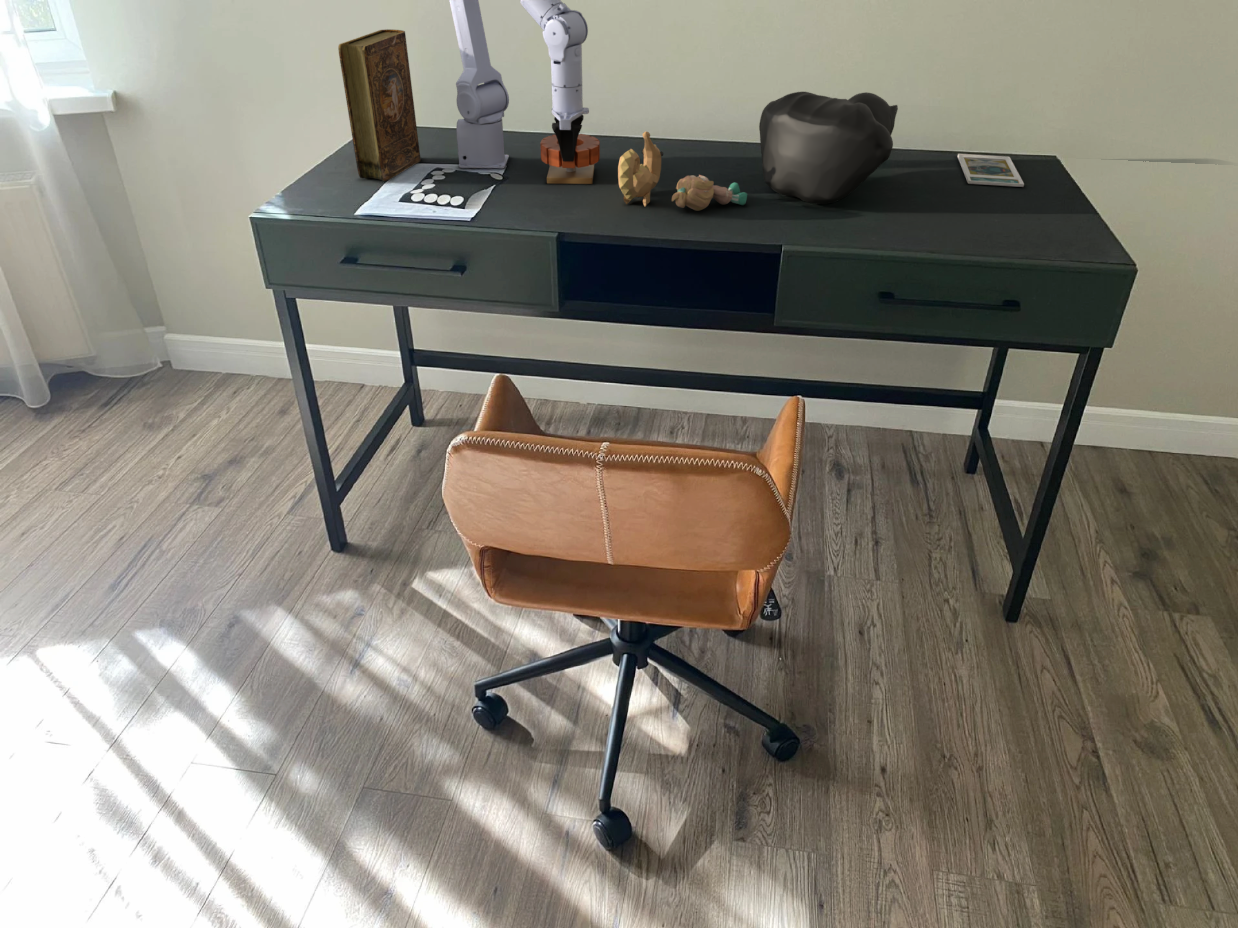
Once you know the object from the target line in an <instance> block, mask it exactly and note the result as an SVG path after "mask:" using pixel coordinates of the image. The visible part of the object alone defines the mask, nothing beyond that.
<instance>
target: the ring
mask: <svg viewBox="0 0 1238 928" xmlns="http://www.w3.org/2000/svg"><path fill="white" fill-rule="evenodd" d="M600 142H601V141H600V139H598V138H596V137H595V136H592V135H589V134H583V133H579V135H578V138H577V146H576V150H575V157H574V161H573V162H565V161H563V160H562V157H561V152H560V147H559V143H558V140H557V137H556V135H555V134H552V135H548V136H545V137H543V138H542V139H541V141H540V142H539V143H540V144H539V146H540V160H541V162H543V163H544V164H546V165H548V166H550V165H551V166H555V167H561V166H562V168H575V166H576V167H578V168H580V167H586V166H589V165H593V164H594V165H595V164H597V163H598V162H599V161H600V159H601V158H600V157H601V155H600V153H601V150H600V149H601V147H600V146H601V145H600V144H601V143H600Z"/></svg>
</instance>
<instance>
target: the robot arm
mask: <svg viewBox="0 0 1238 928" xmlns="http://www.w3.org/2000/svg"><path fill="white" fill-rule="evenodd" d="M448 1H449V5H450V11H451V15H452V20H453V25H454V30H455V35H456V40H457V44H458V50H459V54H460V59H461V62H462V68H463V71H462V73H460V75H459V77H458V79H457V81H456V83H455V86H456V87H455V88H456V92H457V93H456V108H457V109H458V112H459V114H460V116H461V117H462V118H459V119H457V120H456V128H455V129H456V131H455V132H456V134H455V135H456V145H457V155H458V168H460V169H505V168H506V166H507V163H508V161H509V157H510V156H509V154H505V141H504V139H505V138H504V125H503V118H504V117H505V111H506V110H507V109H508V107H509V104H510V96H509V92H508V90H507V88H506V86H505V84H504V80H503V77H502V74H501V72H499V71H498V70H497V69H496V68H495V67H493V66H492V64H491V60H490V59H491V58H490V54H489V48H488V44H487V38H486V33H485V28H484V22H483V17H482V12H481V7H480V2H479V0H448ZM519 2H520V5H521V7H523V9H524V10H525V11H526V12H527V13H528V15H530V17H531V18H532V19H533V20H534V21H535V23H536V24H537V25H538V26H539V27H540V28H541V29H542V38H543V41H544V43H545V44H546V46H547V49H548V57H549V59H550V71H551V73H550V74H551V76H550V77H551V98H552V99H551V104H552V105H551V106H552V108H551V115H553V116H554V118H553V119H554V122H552V124H551V129H552V131H553V133H554V135H556V137H557V140H558V143H559V147H560V152H561V157H562V160H563V161H565V162H573V161H574V157H575V150H576V146H577V138H578V135H579V134H581V133H580V132H581V130H582V128H583V125H582V124H583V121H584V117H585V116H584V115H588V114H589V113H590V108H589V107H584V104H583V101H584V99H583V45H582V44H583V43H585V41H586V40H587V39H588V35H589V28H588V27H589V26H588V23H587V21H586V19H585V17H584V16H583V13H582V12H581V11H579V10H575V9H571V8H570V7H568V6H567V4H566V3H565V2H563V1H562V0H519Z"/></svg>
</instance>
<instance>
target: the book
mask: <svg viewBox="0 0 1238 928" xmlns="http://www.w3.org/2000/svg"><path fill="white" fill-rule="evenodd" d="M407 45H408V44H407V37H406V31H405V30H401V29H388V28H387V29H379V30H375V31H373V32H370V33H368V34H364V35H362V36H358V37H356V38H353V39H350V40H348V41H344V42H341V43H339V44H338V50H337V51H338V56H339V64H340V69H341V76H342V81H343V82H342V83H343V89H344V94H345V100H346V101H345V102H346V107H347V113H348V119H349V126H350V131H351V138H352V144H353V151H354V156H355V163H356V168H357V173H358V177H359V179H376V180H380V181H383V182H388V181H389V180H392V178H395V177H397V176H398V175H400V174H402V173H403V172H405V171H406V170H408V169H410V168H411V167H413V166H415V165H417V164H418V163H420V162H421V152H420V143H419V136H418V135H419V134H418V127H417V118H416V110H415V102H414V94H413V85H412V78H411V69H410V61H409V53H408V46H407Z"/></svg>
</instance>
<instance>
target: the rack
mask: <svg viewBox="0 0 1238 928" xmlns="http://www.w3.org/2000/svg"><path fill="white" fill-rule="evenodd" d="M594 173H595V164H593V165H589V166H586V167H580V168H578V167H576V166H575V168H562V166H561V167H555V166H551V165H549V168H548V172H547V175H546V184H556V185H558V184H559V185H560V184H562V185H566V184H567V185H593V182H594Z"/></svg>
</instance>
